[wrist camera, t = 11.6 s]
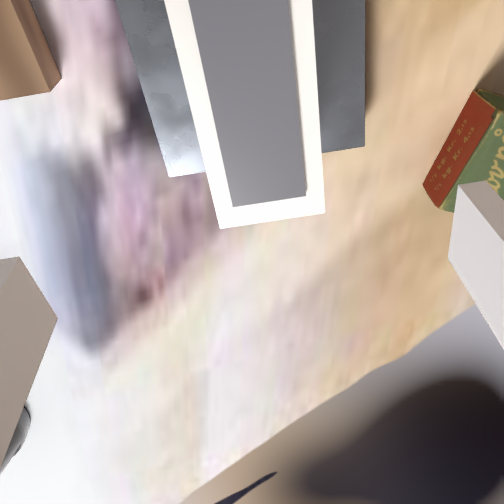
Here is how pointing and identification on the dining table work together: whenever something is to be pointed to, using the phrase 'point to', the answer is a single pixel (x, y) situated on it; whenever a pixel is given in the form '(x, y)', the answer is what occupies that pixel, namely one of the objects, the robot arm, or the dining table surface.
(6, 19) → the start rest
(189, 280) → the dining table surface
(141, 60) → the dark grey plate
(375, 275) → the dining table surface
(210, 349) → the dining table surface
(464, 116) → the carton
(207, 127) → the white-framed grey panel
